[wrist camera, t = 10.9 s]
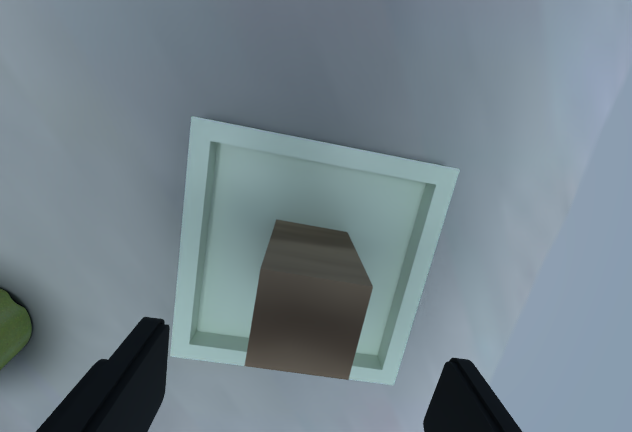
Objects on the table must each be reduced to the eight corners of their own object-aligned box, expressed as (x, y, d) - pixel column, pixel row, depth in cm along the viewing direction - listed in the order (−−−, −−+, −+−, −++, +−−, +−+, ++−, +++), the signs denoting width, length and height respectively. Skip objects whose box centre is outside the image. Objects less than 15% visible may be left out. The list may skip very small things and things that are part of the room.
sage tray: (203, 118, 19) (191, 116, 17) (444, 166, 21) (459, 169, 19) (181, 337, 23) (170, 356, 21) (386, 365, 25) (393, 385, 23)
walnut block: (276, 219, 21) (260, 268, 13) (347, 231, 21) (373, 286, 13) (265, 285, 22) (244, 366, 14) (332, 295, 22) (348, 379, 15)
